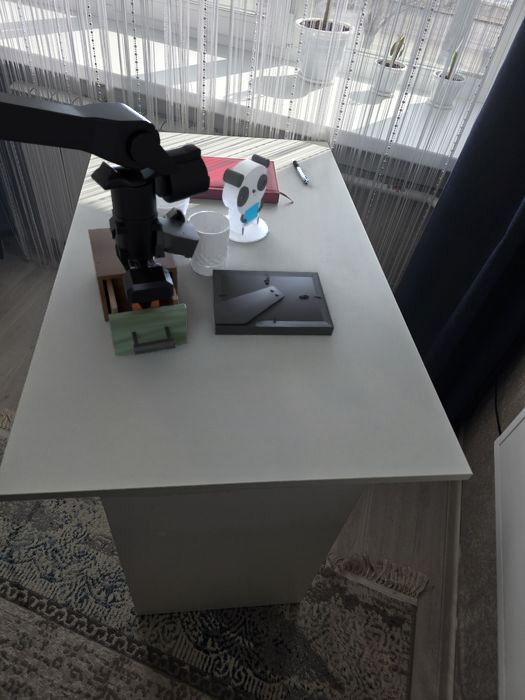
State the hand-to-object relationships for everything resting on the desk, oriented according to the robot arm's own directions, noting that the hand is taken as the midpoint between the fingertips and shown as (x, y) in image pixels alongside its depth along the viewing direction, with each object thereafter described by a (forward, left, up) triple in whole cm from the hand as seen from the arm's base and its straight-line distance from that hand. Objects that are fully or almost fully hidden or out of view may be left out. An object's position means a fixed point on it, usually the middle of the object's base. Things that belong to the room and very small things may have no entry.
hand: (143, 299), depth 74 cm
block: (0, 0, -1) cm, 1 cm away
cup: (+9, +28, -7) cm, 30 cm away
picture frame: (+23, +2, -7) cm, 24 cm away
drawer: (0, -1, -6) cm, 7 cm away
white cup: (+15, +16, -8) cm, 23 cm away
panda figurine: (+26, +28, -7) cm, 39 cm away
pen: (+50, +51, -7) cm, 72 cm away
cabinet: (0, +11, -7) cm, 13 cm away
